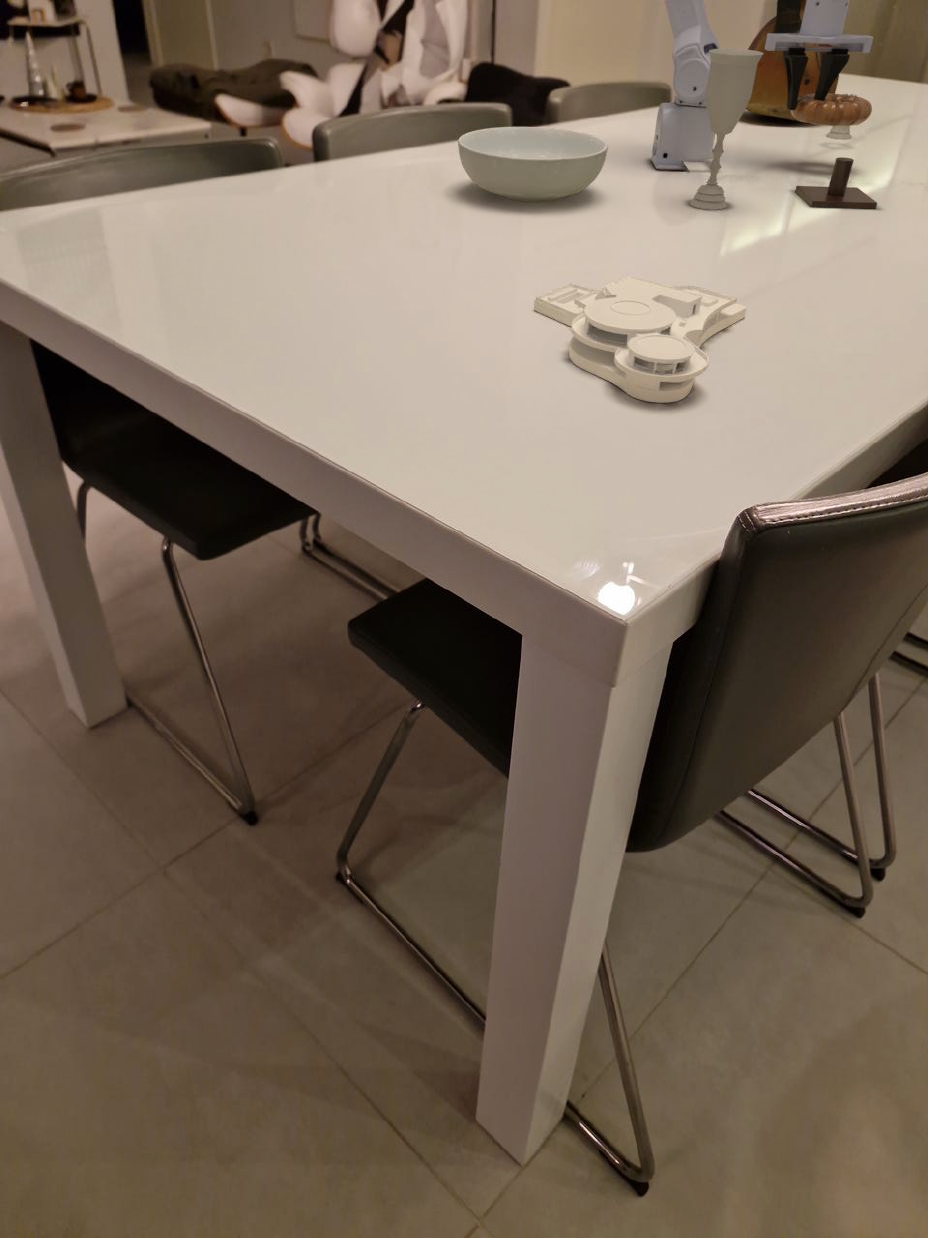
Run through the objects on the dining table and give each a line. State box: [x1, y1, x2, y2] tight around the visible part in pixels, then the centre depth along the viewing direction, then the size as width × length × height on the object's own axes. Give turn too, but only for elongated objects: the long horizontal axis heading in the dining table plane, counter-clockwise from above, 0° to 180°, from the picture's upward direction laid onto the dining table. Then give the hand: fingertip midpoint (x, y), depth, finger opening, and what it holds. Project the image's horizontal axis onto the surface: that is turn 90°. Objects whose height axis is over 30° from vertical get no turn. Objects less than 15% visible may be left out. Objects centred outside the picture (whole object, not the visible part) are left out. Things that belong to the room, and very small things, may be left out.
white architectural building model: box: [533, 276, 748, 404], centre depth 80 cm, size 23×25×4 cm
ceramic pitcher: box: [745, 0, 840, 122], centre depth 166 cm, size 20×20×30 cm
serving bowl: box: [457, 126, 609, 203], centre depth 121 cm, size 21×21×7 cm
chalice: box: [689, 48, 763, 211], centre depth 115 cm, size 7×7×18 cm
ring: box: [790, 93, 873, 127], centre depth 128 cm, size 11×11×3 cm
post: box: [794, 156, 878, 210], centre depth 122 cm, size 9×9×5 cm
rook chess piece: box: [826, 93, 858, 141], centre depth 152 cm, size 4×4×8 cm
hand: (803, 109), depth 128 cm, fingers closed on ring, 3 cm apart
